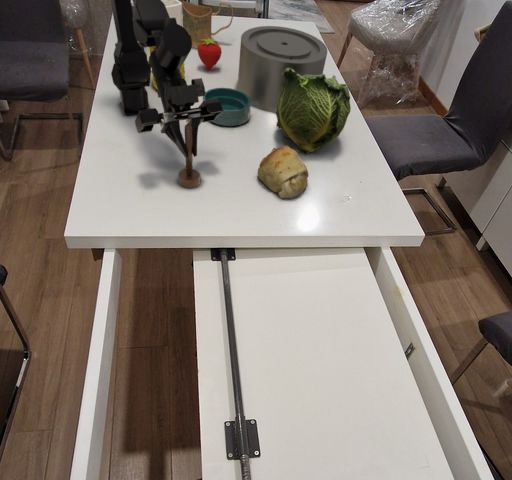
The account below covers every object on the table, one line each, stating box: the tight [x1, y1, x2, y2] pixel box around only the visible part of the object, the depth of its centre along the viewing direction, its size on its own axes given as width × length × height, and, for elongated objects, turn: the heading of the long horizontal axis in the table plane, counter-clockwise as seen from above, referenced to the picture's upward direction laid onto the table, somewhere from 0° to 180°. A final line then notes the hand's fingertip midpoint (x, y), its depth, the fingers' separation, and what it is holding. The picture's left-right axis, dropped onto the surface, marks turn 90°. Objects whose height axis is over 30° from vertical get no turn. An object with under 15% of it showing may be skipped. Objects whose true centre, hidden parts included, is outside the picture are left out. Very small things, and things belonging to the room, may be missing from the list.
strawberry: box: [196, 35, 223, 71], centre depth 131 cm, size 6×8×10 cm
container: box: [236, 25, 328, 114], centre depth 126 cm, size 25×25×13 cm
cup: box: [161, 0, 183, 27], centre depth 130 cm, size 7×7×15 cm
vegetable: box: [275, 68, 352, 155], centre depth 109 cm, size 20×19×20 cm
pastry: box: [257, 145, 309, 200], centre depth 101 cm, size 14×12×8 cm
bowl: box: [202, 87, 252, 127], centre depth 118 cm, size 13×13×4 cm
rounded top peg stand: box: [178, 123, 201, 189], centre depth 94 cm, size 5×5×14 cm
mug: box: [181, 0, 234, 50], centre depth 142 cm, size 12×18×12 cm, turn 89°
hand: (191, 157), depth 93 cm, fingers closed on rounded top peg stand
